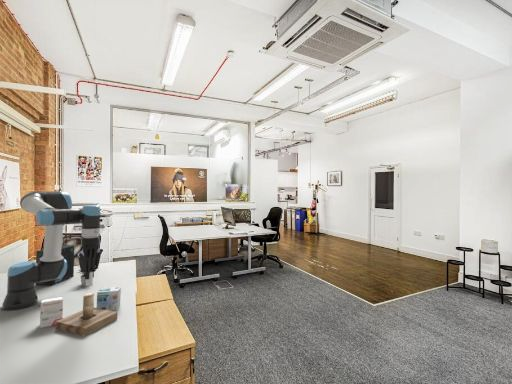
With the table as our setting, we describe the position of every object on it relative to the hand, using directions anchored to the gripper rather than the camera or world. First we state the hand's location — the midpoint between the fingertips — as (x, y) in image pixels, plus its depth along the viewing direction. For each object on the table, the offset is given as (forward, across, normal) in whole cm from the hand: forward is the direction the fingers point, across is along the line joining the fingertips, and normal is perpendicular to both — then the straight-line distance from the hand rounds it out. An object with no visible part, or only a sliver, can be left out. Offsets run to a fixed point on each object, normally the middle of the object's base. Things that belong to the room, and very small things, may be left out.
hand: (89, 285), depth 131 cm
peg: (+19, 0, 0) cm, 19 cm away
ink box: (+19, -6, +16) cm, 26 cm away
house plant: (+19, +44, +52) cm, 71 cm away
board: (+19, 0, 0) cm, 19 cm away
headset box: (+19, +41, +80) cm, 92 cm away
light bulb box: (+19, +17, +5) cm, 26 cm away
